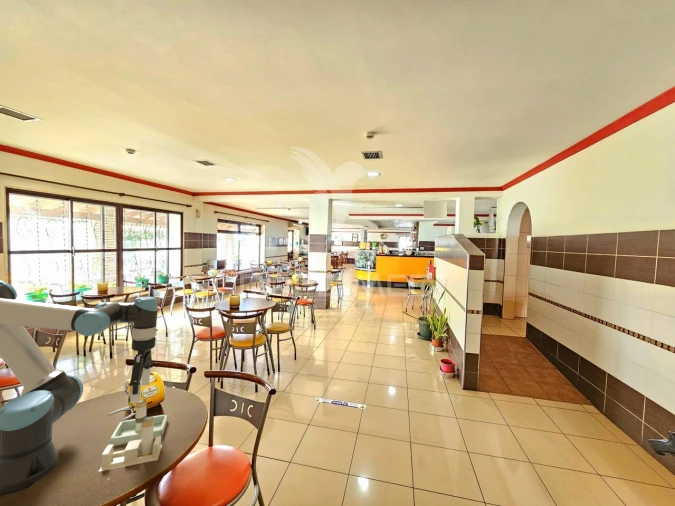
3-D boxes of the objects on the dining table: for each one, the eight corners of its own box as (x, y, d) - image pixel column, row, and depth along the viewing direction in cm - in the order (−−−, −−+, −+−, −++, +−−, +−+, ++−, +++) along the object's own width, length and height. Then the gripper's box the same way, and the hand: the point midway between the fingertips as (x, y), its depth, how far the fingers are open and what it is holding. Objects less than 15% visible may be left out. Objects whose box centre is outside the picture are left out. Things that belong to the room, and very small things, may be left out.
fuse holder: (98, 474, 90) (99, 458, 90) (108, 456, 97) (108, 442, 97) (157, 462, 96) (157, 447, 96) (162, 446, 103) (162, 432, 103)
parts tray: (109, 448, 101) (110, 438, 101) (120, 430, 111) (120, 421, 111) (161, 439, 107) (162, 430, 107) (167, 422, 117) (167, 414, 117)
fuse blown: (134, 436, 107) (134, 404, 107) (136, 430, 110) (136, 400, 110) (145, 434, 108) (145, 402, 108) (147, 428, 111) (147, 398, 111)
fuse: (139, 459, 96) (140, 423, 95) (142, 452, 99) (143, 417, 99) (151, 456, 97) (152, 421, 97) (153, 449, 100) (154, 416, 100)
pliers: (107, 412, 121) (142, 395, 135) (107, 415, 121) (142, 399, 135) (123, 417, 117) (157, 400, 131) (123, 421, 117) (157, 403, 131)
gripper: (147, 348, 99) (143, 409, 99) (162, 328, 122) (158, 378, 122) (121, 349, 96) (116, 412, 96) (141, 329, 119) (138, 379, 119)
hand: (140, 393), depth 109 cm, fingers open, 13 cm apart
